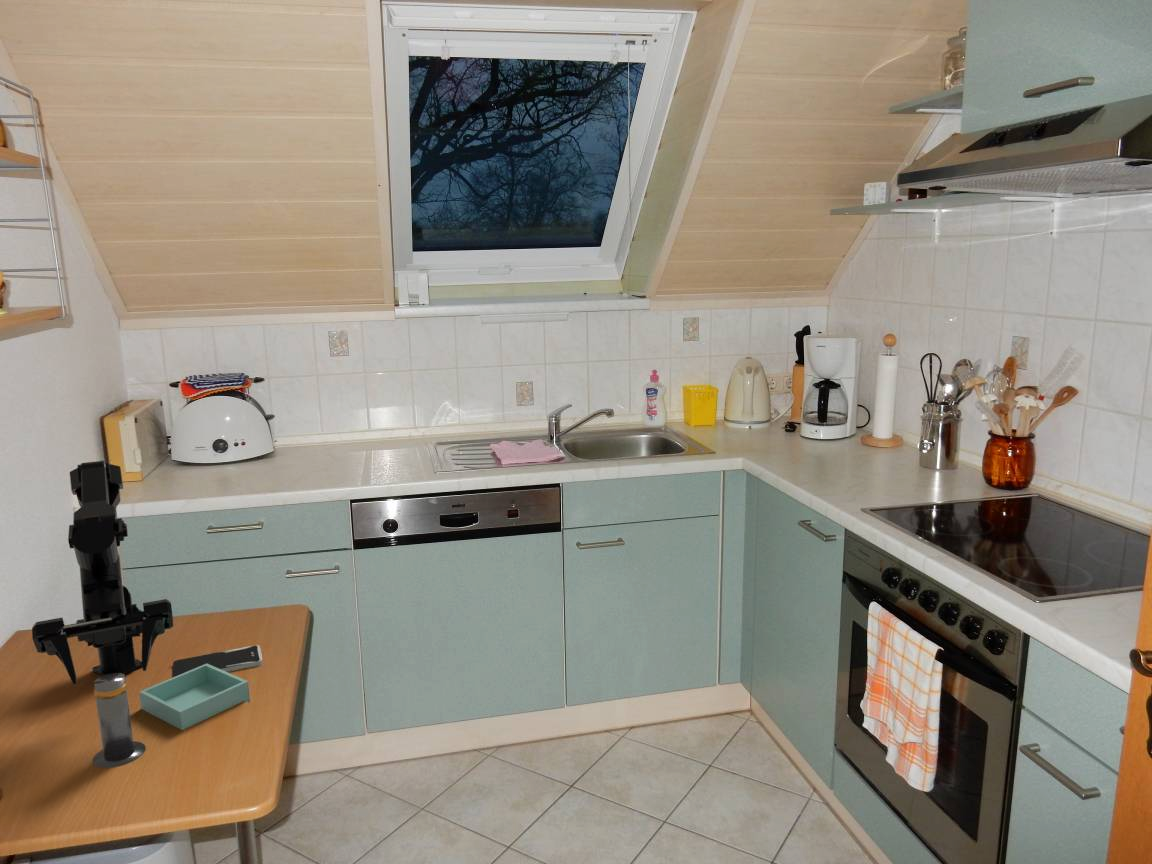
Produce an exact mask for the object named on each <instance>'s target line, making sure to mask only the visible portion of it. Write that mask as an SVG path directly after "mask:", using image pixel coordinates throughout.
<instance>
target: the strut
mask: <svg viewBox="0 0 1152 864" xmlns="http://www.w3.org/2000/svg"><path fill="white" fill-rule="evenodd" d="M93 687H94V688H93V691H94V692H93V693H94V697H95V701H96V707H97V709H96V710H97V715H98V721H99V722H98V723H99V724H98V725H99V731H100V736H101V737H100V738H101V744H102V745H101V746H102V750H103V753H104V759H105V760H106V761H109V762H115V761H120V760H124V759H126V758H128V757H130V756H131V755H132V754H133V753H134V751H135V750H134V742H133V741H134V735H133V729H132V728H133V727H132V722H131V714H130V713H131V712H130V706H129V697H128V684H127V680H126V675H125V674H122V673H111V674H106V675H103V676H102V675H100V676H99V677H97V678H96V679H95V680H94V681H93Z"/></svg>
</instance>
